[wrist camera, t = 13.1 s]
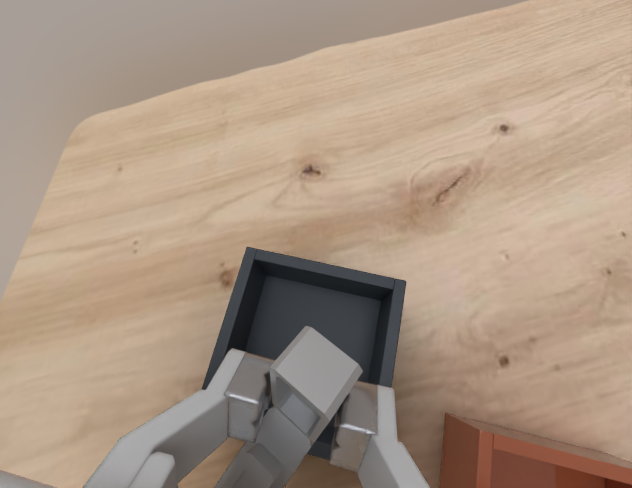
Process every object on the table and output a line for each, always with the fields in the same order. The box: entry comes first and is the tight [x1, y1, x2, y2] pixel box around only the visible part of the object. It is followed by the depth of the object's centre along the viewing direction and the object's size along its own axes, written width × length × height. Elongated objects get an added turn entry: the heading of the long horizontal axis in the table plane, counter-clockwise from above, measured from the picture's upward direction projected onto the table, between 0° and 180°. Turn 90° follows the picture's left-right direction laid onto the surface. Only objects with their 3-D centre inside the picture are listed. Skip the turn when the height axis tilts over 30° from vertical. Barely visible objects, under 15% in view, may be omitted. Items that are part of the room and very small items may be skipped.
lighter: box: [214, 326, 363, 488], centre depth 10 cm, size 7×2×8 cm, turn 143°
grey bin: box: [202, 247, 406, 460], centre depth 23 cm, size 12×12×6 cm
